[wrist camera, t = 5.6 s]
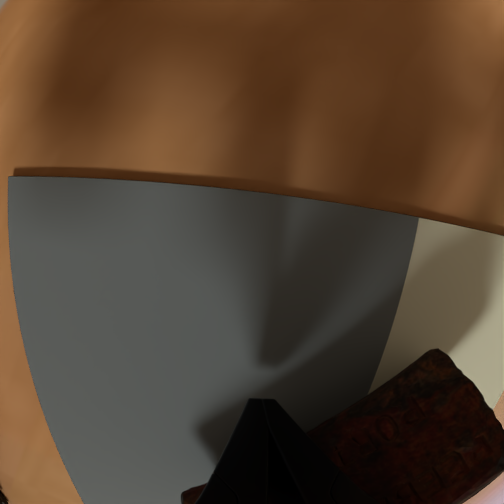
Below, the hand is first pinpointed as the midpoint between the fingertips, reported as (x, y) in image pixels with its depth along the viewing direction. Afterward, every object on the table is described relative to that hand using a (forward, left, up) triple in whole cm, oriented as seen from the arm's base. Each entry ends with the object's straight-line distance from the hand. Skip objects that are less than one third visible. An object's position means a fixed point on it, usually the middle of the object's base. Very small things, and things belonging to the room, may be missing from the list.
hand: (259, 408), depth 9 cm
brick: (+2, -2, -1) cm, 3 cm away
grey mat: (+2, -4, -1) cm, 5 cm away
